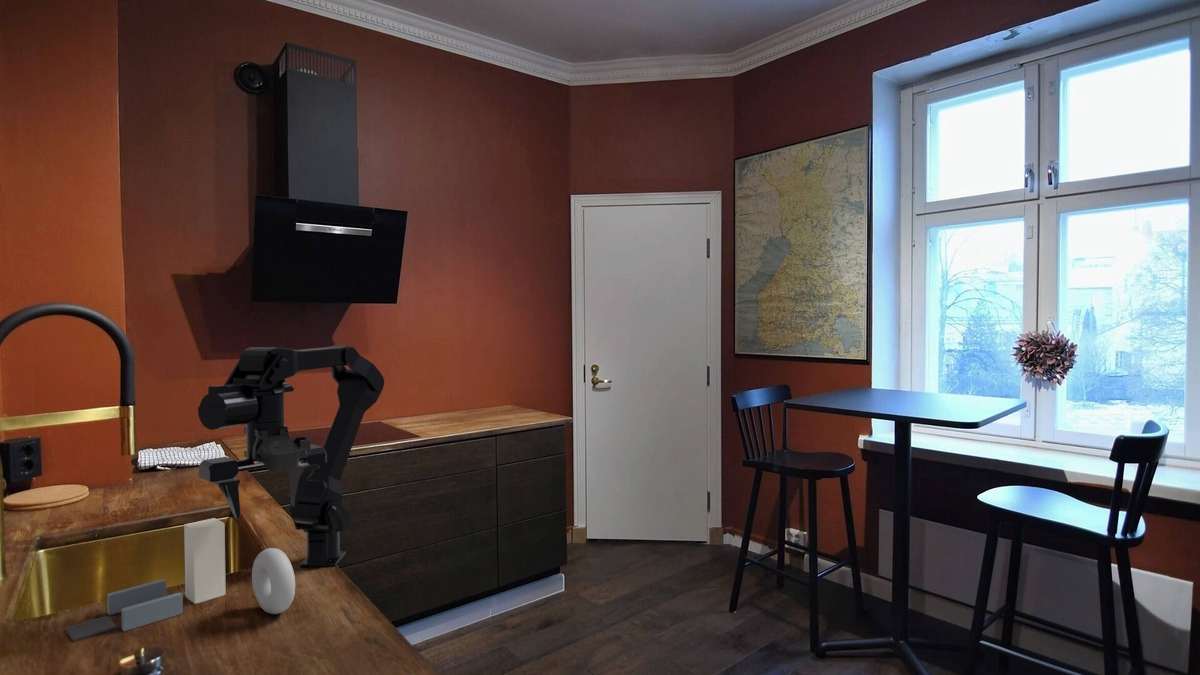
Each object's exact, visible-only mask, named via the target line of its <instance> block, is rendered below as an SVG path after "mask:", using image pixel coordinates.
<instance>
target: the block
mask: <svg viewBox="0 0 1200 675" xmlns="http://www.w3.org/2000/svg"><path fill="white" fill-rule="evenodd" d="M225 524H226V523H225V522H223V521H221V520H219V519H217V518H216V517H212V518H208V519H203V520H198V521H195V522H189V523H184V525H183V526H184V527H183V530H184V534H183V536H184V537H183V538H184V540H183V541H184V585H185V586H184V588H185V590H184V592H185V593H184V594H185V598H186V599H187V600H189V601H191V602H192V603H193V604H194V605H195V604H200V603H203V602H206V601H210V600H212V599H216V598H219V597H222V596H223V597H224V596H226V590H227V589H226V548H225V547H226V541H225V540H226V537H225V536H226V532H225V531H226V530H225Z"/></svg>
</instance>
